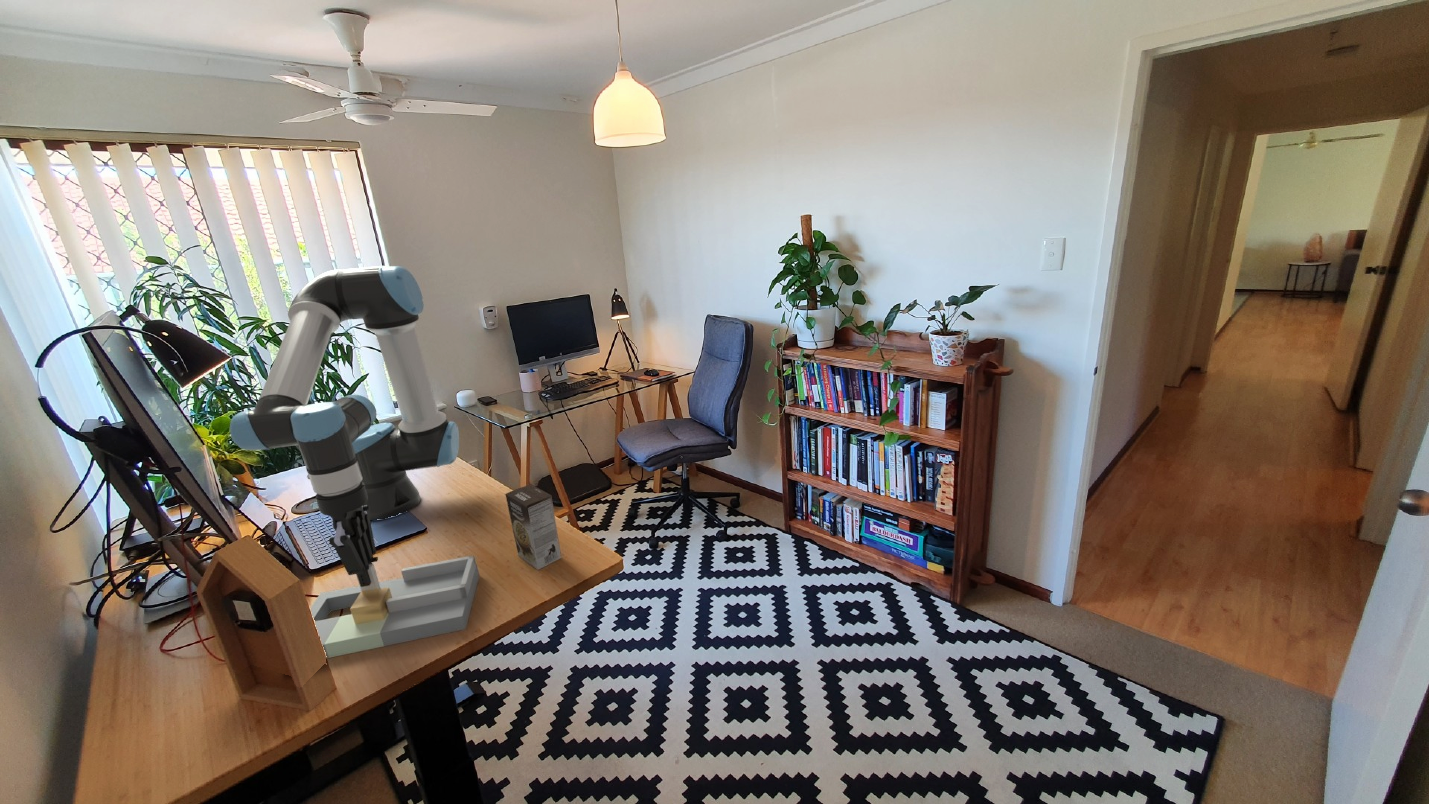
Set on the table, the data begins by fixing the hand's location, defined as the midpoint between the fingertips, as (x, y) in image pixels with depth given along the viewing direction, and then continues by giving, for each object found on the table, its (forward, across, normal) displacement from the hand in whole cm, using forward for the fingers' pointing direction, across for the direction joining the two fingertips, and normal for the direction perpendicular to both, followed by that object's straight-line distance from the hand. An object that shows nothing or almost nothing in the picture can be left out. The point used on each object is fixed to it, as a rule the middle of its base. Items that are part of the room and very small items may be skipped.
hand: (372, 595), depth 106 cm
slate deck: (+5, +1, +3) cm, 6 cm away
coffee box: (+5, -10, +30) cm, 32 cm away
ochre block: (+2, +3, +1) cm, 4 cm away
